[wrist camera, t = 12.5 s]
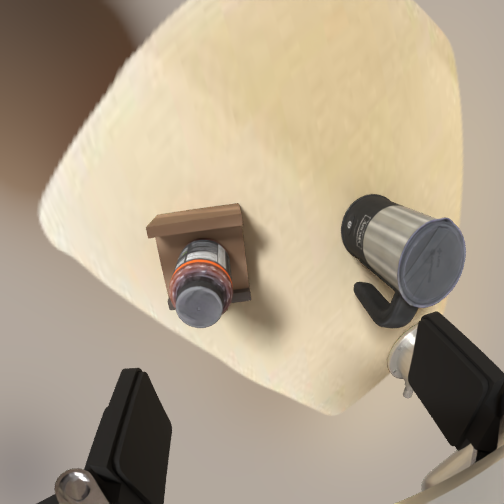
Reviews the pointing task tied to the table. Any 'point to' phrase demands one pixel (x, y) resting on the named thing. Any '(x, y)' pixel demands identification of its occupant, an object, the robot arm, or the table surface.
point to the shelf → (202, 226)
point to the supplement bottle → (201, 283)
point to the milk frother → (402, 257)
